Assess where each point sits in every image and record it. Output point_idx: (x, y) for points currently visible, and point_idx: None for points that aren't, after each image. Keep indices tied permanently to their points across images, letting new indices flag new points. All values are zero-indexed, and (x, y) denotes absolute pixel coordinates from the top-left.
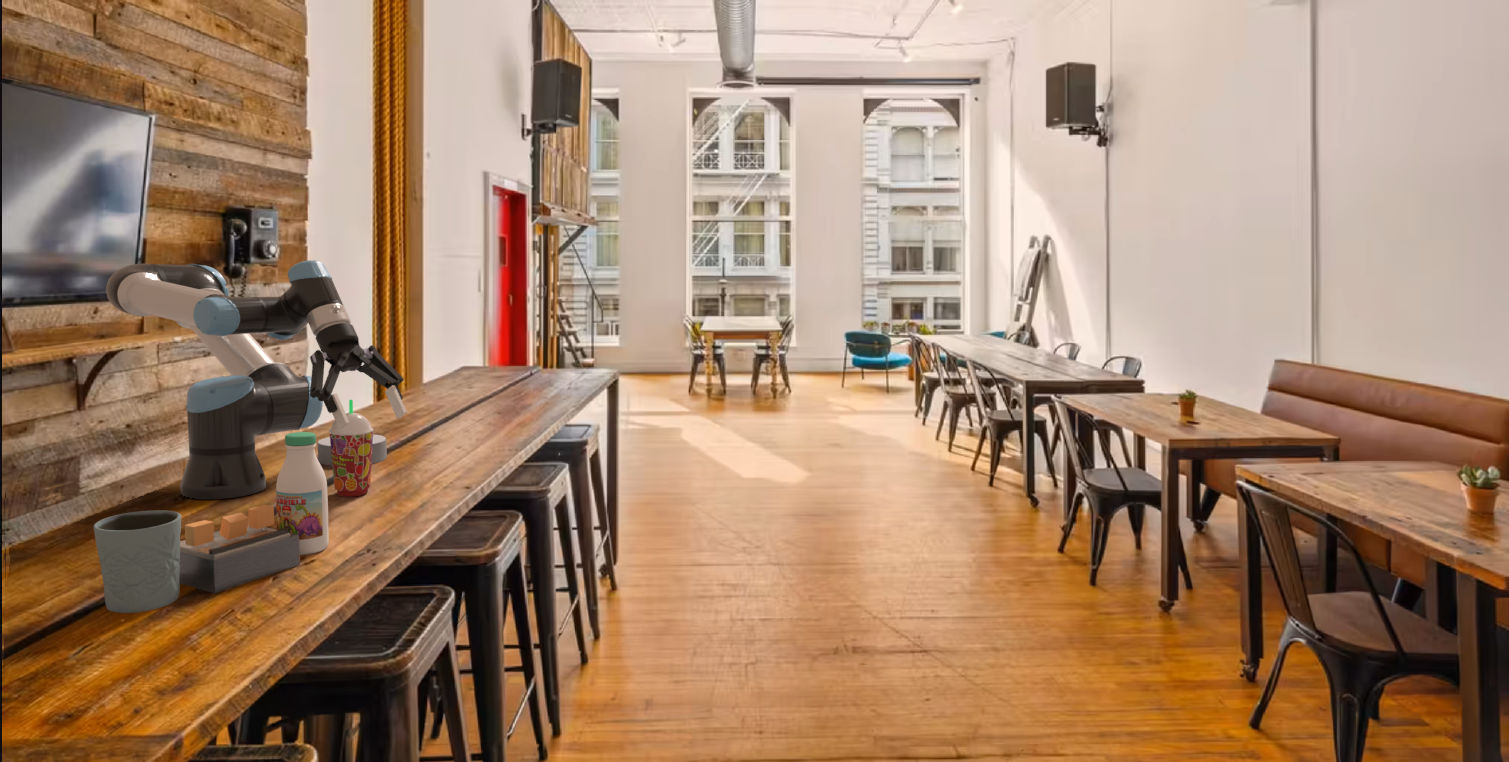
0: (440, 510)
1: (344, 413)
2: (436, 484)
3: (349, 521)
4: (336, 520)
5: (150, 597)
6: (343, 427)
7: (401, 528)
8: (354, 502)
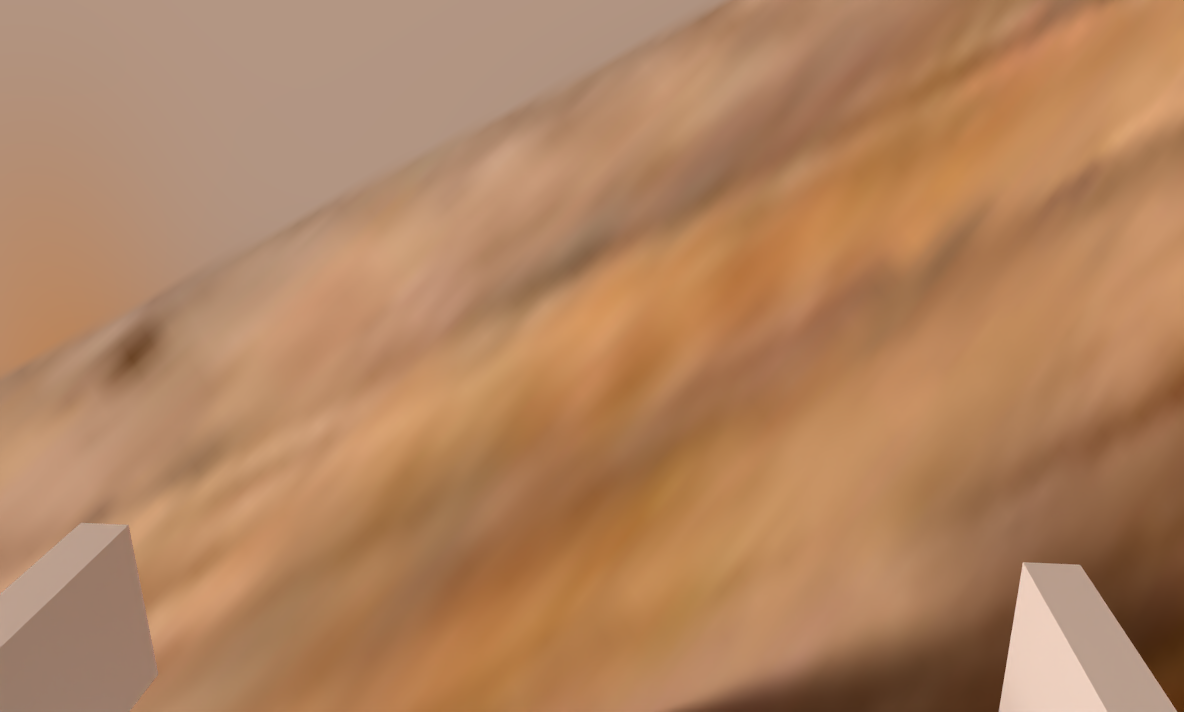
0: (587, 113)
1: (1097, 655)
2: (167, 568)
3: (1045, 329)
4: (1083, 405)
5: None
6: (1002, 698)
7: (941, 19)
8: (768, 649)
